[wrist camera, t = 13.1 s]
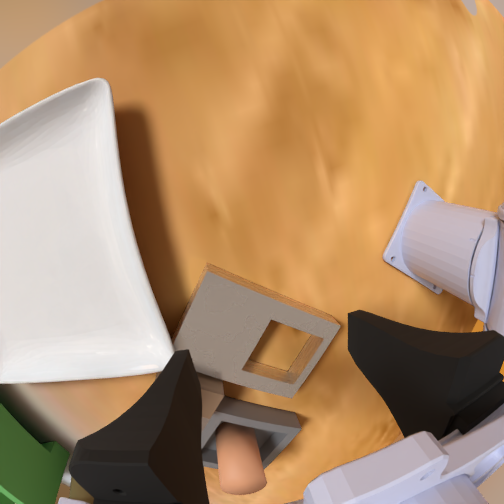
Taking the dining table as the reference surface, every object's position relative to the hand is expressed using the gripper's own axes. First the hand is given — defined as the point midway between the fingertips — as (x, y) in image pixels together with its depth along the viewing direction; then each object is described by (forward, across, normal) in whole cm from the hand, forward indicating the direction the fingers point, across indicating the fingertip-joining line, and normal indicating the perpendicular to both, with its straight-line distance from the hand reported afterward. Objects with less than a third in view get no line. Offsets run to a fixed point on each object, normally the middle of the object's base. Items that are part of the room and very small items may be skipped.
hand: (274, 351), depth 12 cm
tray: (+10, +4, +17) cm, 20 cm away
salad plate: (+10, +17, -5) cm, 20 cm away
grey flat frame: (+10, 0, +5) cm, 12 cm away
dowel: (+10, +4, +16) cm, 20 cm away
